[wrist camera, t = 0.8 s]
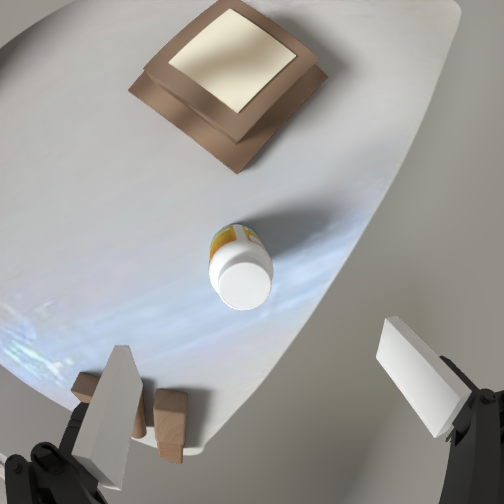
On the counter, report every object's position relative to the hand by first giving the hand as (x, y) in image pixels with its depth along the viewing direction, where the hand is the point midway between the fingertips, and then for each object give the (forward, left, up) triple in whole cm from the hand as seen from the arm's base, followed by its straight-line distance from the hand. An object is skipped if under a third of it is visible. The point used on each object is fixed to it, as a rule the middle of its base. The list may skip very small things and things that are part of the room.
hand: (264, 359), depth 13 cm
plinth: (-12, +13, -18) cm, 25 cm away
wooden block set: (+5, -32, -18) cm, 38 cm away
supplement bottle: (0, 0, -18) cm, 18 cm away
